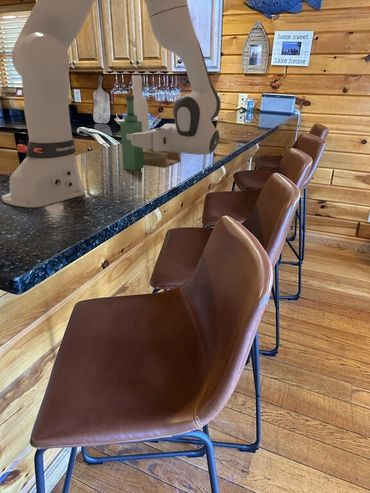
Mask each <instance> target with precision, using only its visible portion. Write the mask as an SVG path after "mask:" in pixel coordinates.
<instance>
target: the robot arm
mask: <svg viewBox="0 0 370 493" xmlns="http://www.w3.org/2000/svg"><path fill="white" fill-rule="evenodd" d="M95 1H96V0H36V2H35V4H34V6H33V7H32V10H31V12H30V14H29V15H28V17H27V19H26V21H25V23H24V25H23V27H22V29H21V31H20V33H19V35H18V37H17V40H16V41H15V43H14V45H13V47H12V50H11V60H12V65H13V67H14V69H15V70H16V72H17V73H18V75H20V77H21V82H22V92H23V112H24V117H25V123H26V128H27V133H28V139H29V140H28V141H27V145H26V144H21V143H19V144H17V146H16V150H17V151H18V153H25V155H26V157H25V158H24V159H23V161H22V162H21V163H20V164H19V165H18V166H17V168H16V169H15V170H14V171H13V173H11V175H10V177H9V182H8V183H9V192H8V193H6V194H4V195H1V200H2V202H4V203H5V204H8V205H12V206H16V207H21V208H22V207H23V208H41V207H45V206H48V205H51V204H52V205H53V204H56V203H60V202H62V201H65V200H70V199H73V198H76V197H80V196H81V197H82V196H84V195H86V192H85V186H84V184H83V181H82V178H81V176H80V170H79V167H78V162H77V158H76V156H75V154H76V151H77V150H76V144H75V140H74V138H73V134H72V125H71V119H70V108H69V105H70V104H69V101H70V100H69V99H70V98H69V97H70V77H69V70H70V62H71V61H70V56H69V53H68V51H69V49H70V47H71V46H72V44H73V42H74V41H75V40H76V37H77V36H78V35H79V33H80V32H81V31H82V28H83V27H84V24H85V22H86V20H87V18H88V16H89V13H90V12H91V9H92V8H93V5H94V2H95ZM143 2H144V3H145V5H146V11H147V14H148V18H149V23H150V27H151V29H152V30H151V31H152V34H153V35H154V37H155V40H156V43H157V44H158V45H160V47H161V48H163V49H165V50H167V51H169V52H171V53H173V54H174V55H176V56H177V57H178V58H179V59H180V60H181V62H182V63H183V65H184V69H185V71H186V74H187V78H188V81H189V85H190V88H191V92H190V93H188V94H185V95H183V96H181V97H179V98H178V99H177V100H176V102H175V103H174V105H173V119H174V123H170V122H169V123H165V124H163V125H162V126H160V127H156V128H151V129H149V130H143V131H142V132H137V133H129V134H127V135H126V137H127V139H129V140H131V144H132V145H133V146H136V147H141V148H147V149H153V151H156V152H161V151H167V152H177V153H180V152H181V153H185V154H188V155H195V156H198V155H199V156H200V155H201V156H202V155H203V156H204V155H210V154H212V153H213V152H215V150H216V149H217V147H218V144H219V141H220V132H219V130H218V129H217V127H216V128H215V127H214V125H213V124H212V122H211V120H213V119H216V118H217V116H218V115H219V113H220V111H221V105H222V104H221V99H220V96H219V94H218V92H217V91H216V89H215V88H214V86H213V84H212V82H211V78H210V75H209V71H208V68H207V64H206V61H205V57H204V53H203V50H202V47H201V44H200V41H199V39H198V37H197V35H196V32H195V29H194V25H193V21H192V17H191V13H190V8H189V4H188V0H143Z"/></svg>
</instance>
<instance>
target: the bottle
mask: <svg viewBox="0 0 370 493" xmlns="http://www.w3.org/2000/svg"><path fill="white" fill-rule="evenodd" d="M142 77H143V76H142V75H132V76H131V82H132V84H131V85H132V95H134V99H133V100H134V115H137V120H138V121H142V131H143V130H150V124H149V122H150V121H149V104H148V101H147V99H146V98H145V97H144V96H143V78H142ZM144 149H147V148H143V150H144Z"/></svg>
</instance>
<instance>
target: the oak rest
mask: <svg viewBox="0 0 370 493" xmlns="http://www.w3.org/2000/svg"><path fill="white" fill-rule="evenodd" d="M181 155H182V152H180V153H177V152H167V151H161V152H156V151H153V149H144V150H143V163H144V166H147V167H155V168H162V169H165V168H169V167H171V166H174V165H176V164H179V163H181V162H182V160H181V157H182V156H181Z"/></svg>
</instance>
